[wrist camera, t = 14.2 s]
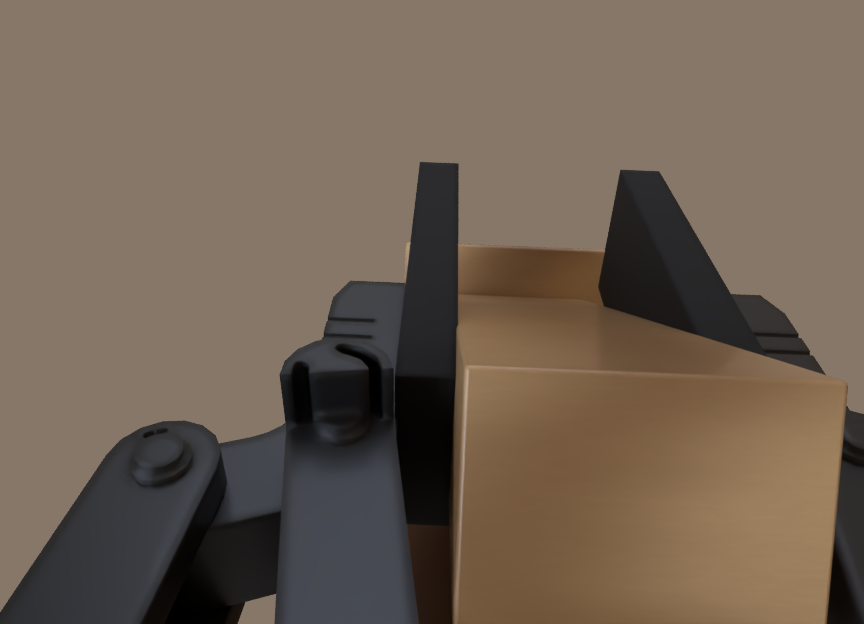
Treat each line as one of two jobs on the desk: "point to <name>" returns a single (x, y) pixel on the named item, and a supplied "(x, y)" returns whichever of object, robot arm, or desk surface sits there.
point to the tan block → (628, 460)
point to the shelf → (431, 572)
